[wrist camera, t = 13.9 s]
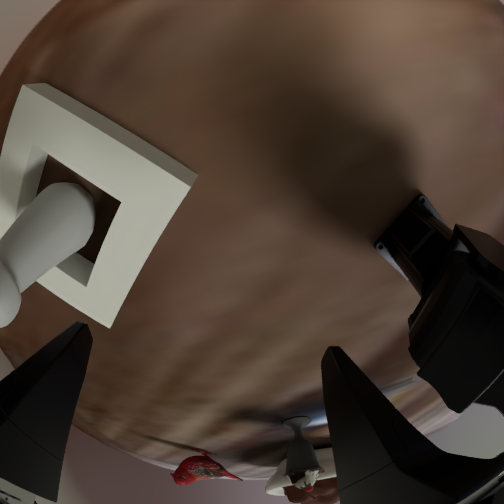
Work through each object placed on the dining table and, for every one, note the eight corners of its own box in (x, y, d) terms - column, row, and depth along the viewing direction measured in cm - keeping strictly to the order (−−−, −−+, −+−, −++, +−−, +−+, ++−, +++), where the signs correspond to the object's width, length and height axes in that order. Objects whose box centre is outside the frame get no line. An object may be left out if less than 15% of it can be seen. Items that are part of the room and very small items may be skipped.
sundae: (311, 427, 41) (322, 499, 28) (274, 429, 41) (280, 504, 28) (321, 412, 38) (335, 494, 25) (280, 415, 38) (288, 500, 25)
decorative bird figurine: (176, 440, 45) (171, 482, 36) (246, 457, 50) (247, 493, 42) (170, 443, 46) (165, 483, 37) (239, 459, 51) (239, 494, 43)
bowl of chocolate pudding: (321, 466, 60) (327, 508, 47) (245, 463, 54) (246, 514, 41) (385, 433, 49) (398, 484, 36) (304, 433, 43) (313, 502, 30)
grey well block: (198, 174, 19) (191, 187, 16) (119, 307, 25) (109, 328, 23) (45, 82, 14) (22, 84, 11) (6, 229, 20) (-11, 242, 18)
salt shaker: (47, 219, 20) (-42, 309, 9) (59, 163, 18) (-58, 239, 6) (96, 247, 22) (19, 359, 10) (113, 192, 19) (8, 297, 8)
